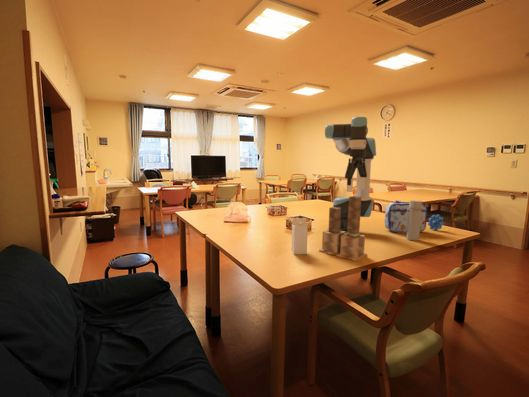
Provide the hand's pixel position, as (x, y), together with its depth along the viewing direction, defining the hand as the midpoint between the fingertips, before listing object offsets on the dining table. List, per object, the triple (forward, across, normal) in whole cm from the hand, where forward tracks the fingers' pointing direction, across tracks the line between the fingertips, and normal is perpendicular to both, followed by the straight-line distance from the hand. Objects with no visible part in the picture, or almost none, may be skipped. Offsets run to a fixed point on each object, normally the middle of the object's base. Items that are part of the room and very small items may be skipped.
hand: (355, 190), depth 146 cm
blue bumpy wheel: (+35, +92, -20) cm, 100 cm away
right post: (+26, -1, -1) cm, 26 cm away
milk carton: (+35, -16, +23) cm, 45 cm away
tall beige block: (+35, +54, -14) cm, 66 cm away
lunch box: (+35, +72, -4) cm, 80 cm away
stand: (+34, -1, +5) cm, 35 cm away
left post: (+33, -1, +11) cm, 35 cm away
